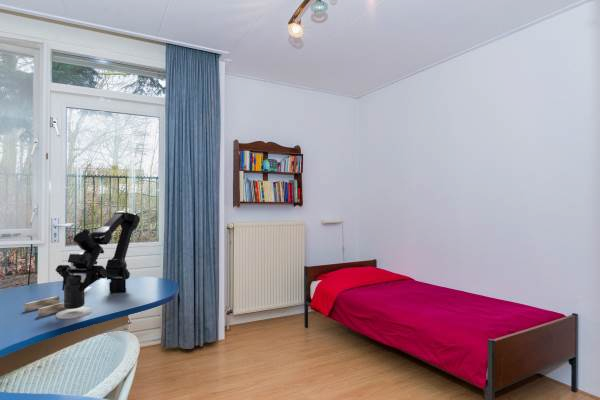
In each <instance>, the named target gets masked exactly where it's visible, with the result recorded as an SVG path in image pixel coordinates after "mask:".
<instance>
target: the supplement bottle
mask: <svg viewBox="0 0 600 400" xmlns="http://www.w3.org/2000/svg"><path fill="white" fill-rule="evenodd" d="M81 280H82V279H81V275H71V276H68V277H67V284H65V286H64V291H63V302H64V307H65V308H66V309H76V308H80V307H85V306H84V305H85V300H86V299H85V295H86V294H85V293H84V290H83V291H80V288H81V286H82V284H83V282H81Z"/></svg>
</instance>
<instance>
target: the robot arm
mask: <svg viewBox="0 0 600 400" xmlns="http://www.w3.org/2000/svg"><path fill="white" fill-rule="evenodd" d="M140 221H141V217H140V215H138V213H131V212H130V213H129V212H128V211H119V210H118V211H115V212H114V215H112V216H111V217H110V218H109V219H108V220H107V222H105V224H104V225H102V227H99V228H96V229H94V230H93V231H92V232H90V230H89V229H86V228H85V229H83V230H82V231H80V232H78V233H76V234H74V237H73V241H74V242H75V243H76V245H77V246H78V247H79V249H80V250H82V251H84V253H83V254H79V253H70V254H69V255H68V259H67V263H69V264H58V265H57V267H56V268H55V272H56V273H57V274H59V275H60V277H62V278H63V279H62V286H61V287H62V288H61V289H62V291H63V292H64V286H65V284H67V277H68V276H71V275H74V273H77V274H86V278H85V280H84V282H83V284H82V286H81V288H80V291H83V290H84V289H86V288H87V287H90V286H91V285H92V284H94V283H95V282H96V281H99V280H101V279H106V280H110V281H109V284H108V285H109V287H108V288H109V290H108V291H109V293H110V294H112V295H113V294H123V293H127V283H126V281H127V280H129V278H130V276H131V273H130V271H129V269H127V267H128V265H127V261H126V260H125V259H126V258H127V257H126V256H127V253H128V248H129V245H130V241H131V237H132V235H133V232H134V231H135V230H136V229H137V228H138V225H139V223H140ZM119 227H121V231H120V233H119V238H118V240H117V241H118V242H117V245H116V247H115V248H116V249H115V252H114V255H113V257H112V258H111V259H110V258H108V259H107V263H106V265H105V267H104V266H103V265H97V264H98V261H97V260H98V259H99V256H100V254H105V251H104V249H103V246H101V245H105V246H106V245H108V244H109V243H110V241H111V240H112V239H113V233H114V232H115V231H116V230H117V229H118V228H119ZM70 263H73V266H74V267H76V268H71V266H70Z"/></svg>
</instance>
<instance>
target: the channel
mask: <svg viewBox="0 0 600 400" xmlns="http://www.w3.org/2000/svg"><path fill="white" fill-rule="evenodd" d="M35 310H37V316H38V317H40V318H41V317H45V316H48V315H51V314H55V313H56V314H57V313H58V312H60V311H63V310H66V308H65V307H64V301H63V302H60V296H59V295H56V296H51V297H47V298H43V299H39V300H34V301H30V302H26V303H24V312H30V311H35Z"/></svg>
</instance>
